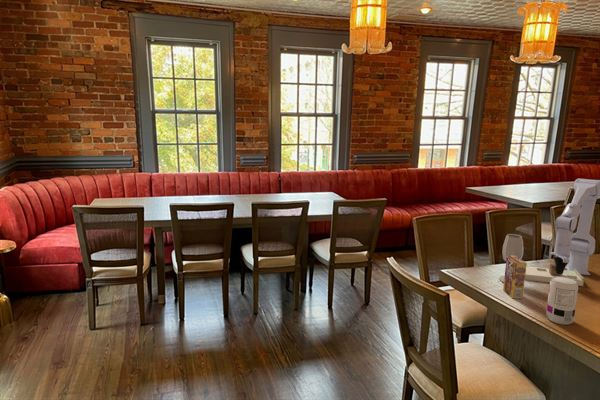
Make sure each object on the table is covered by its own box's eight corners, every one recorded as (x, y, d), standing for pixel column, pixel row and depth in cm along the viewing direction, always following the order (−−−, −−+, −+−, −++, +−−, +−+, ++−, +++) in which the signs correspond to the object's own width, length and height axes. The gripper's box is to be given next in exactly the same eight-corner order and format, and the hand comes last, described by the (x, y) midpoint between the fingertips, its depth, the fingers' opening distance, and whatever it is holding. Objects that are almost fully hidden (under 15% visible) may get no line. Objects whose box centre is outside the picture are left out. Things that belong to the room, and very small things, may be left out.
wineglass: (499, 283, 172) (504, 237, 169) (498, 276, 180) (502, 232, 177) (522, 286, 169) (527, 239, 165) (519, 279, 177) (524, 234, 173)
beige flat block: (518, 270, 188) (519, 263, 187) (574, 276, 180) (575, 269, 180) (523, 279, 177) (523, 272, 176) (583, 286, 169) (584, 278, 169)
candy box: (523, 299, 157) (527, 262, 154) (512, 298, 157) (516, 262, 154) (513, 290, 165) (516, 255, 163) (502, 289, 166) (505, 255, 163)
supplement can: (540, 317, 142) (545, 277, 139) (555, 313, 145) (560, 274, 142) (563, 327, 134) (568, 286, 132) (578, 322, 138) (584, 282, 135)
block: (549, 272, 179) (549, 263, 178) (559, 273, 177) (560, 264, 177) (550, 274, 175) (551, 265, 175) (561, 275, 173) (562, 266, 173)
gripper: (548, 238, 179) (544, 267, 181) (557, 247, 166) (553, 277, 168) (566, 240, 177) (562, 269, 179) (576, 249, 163) (572, 280, 165)
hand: (559, 273), depth 173 cm, fingers closed, pressing on block
